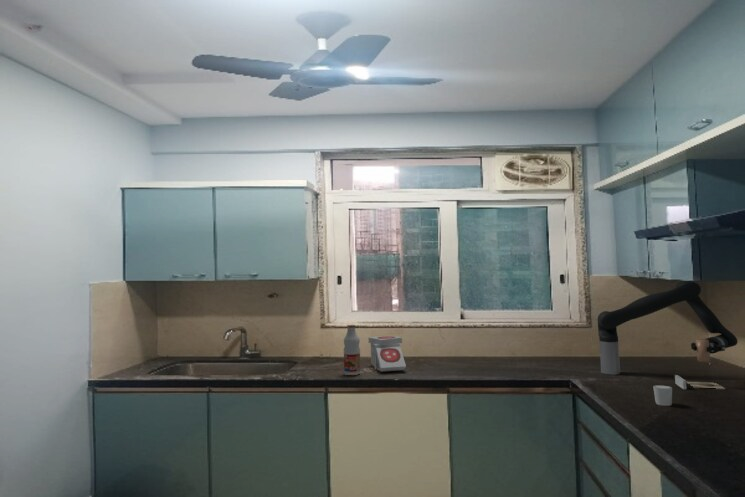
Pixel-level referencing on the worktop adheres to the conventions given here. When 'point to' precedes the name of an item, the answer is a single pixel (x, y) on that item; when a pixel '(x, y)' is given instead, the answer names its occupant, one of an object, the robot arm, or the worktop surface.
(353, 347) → the fruit juice
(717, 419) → the worktop surface
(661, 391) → the shot glass
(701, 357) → the cylinder
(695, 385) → the pad
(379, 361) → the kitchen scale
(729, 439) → the worktop surface
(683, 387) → the wall
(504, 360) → the worktop surface
